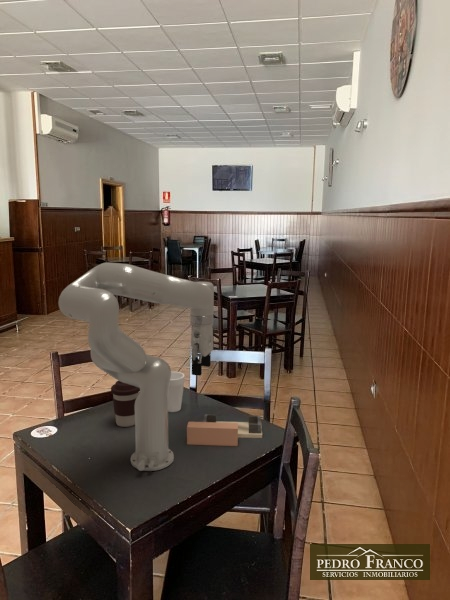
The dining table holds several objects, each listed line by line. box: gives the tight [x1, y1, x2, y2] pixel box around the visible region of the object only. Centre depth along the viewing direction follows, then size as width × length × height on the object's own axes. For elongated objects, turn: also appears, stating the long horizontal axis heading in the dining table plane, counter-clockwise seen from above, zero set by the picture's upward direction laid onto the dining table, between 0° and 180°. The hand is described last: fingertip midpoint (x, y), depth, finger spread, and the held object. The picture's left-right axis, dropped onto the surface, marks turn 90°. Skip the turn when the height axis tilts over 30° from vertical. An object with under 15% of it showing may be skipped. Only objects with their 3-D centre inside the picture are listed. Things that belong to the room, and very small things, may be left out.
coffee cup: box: [110, 380, 140, 428], centre depth 154 cm, size 10×10×15 cm
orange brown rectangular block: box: [186, 421, 239, 447], centre depth 142 cm, size 4×16×6 cm, turn 87°
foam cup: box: [168, 371, 186, 413], centre depth 166 cm, size 10×9×13 cm
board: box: [202, 413, 263, 439], centre depth 149 cm, size 9×20×4 cm, turn 88°
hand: (201, 370), depth 147 cm, fingers open, 9 cm apart
